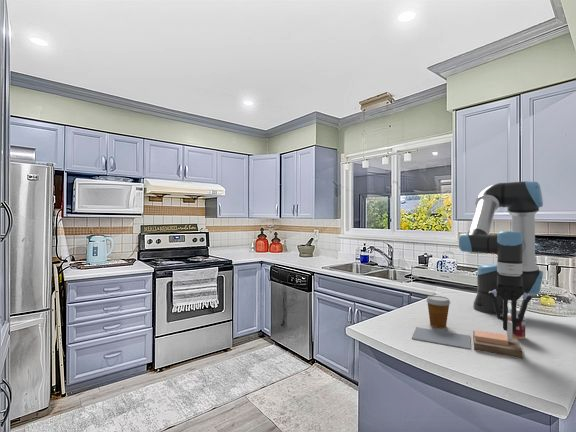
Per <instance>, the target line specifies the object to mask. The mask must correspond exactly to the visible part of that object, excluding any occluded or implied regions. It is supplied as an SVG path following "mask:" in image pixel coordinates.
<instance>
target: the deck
mask: <svg viewBox="0 0 576 432" xmlns="http://www.w3.org/2000/svg"><path fill="white" fill-rule="evenodd" d="M472 340H473V350H474V351H478V352H483V353H489V354H495V355H499V356H505V357H510V358H517V359H523V349H522V346H521V345H520V343H519V341H518V340H519V339H517V338H516V337H512V341H508V345H503V344H497V343H491V342H485V341H479V340H475V334H474V330H473V331H472Z"/></svg>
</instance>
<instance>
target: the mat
mask: <svg viewBox="0 0 576 432" xmlns="http://www.w3.org/2000/svg"><path fill="white" fill-rule="evenodd" d="M411 336H412V337H411V340H413V341H414V340H416V341H419V342H420V341H422V342H425V343H426V342H427V343H432V344H439V345H444V346H450V347H454V348H455V347H456V348H461V349H466V350H472V346H471V345H472V344H471V341H472V340H471V335H469V334H462V333H455V332H450V331H444V330H443V331H442V330H437V329H431V328H424V327H418V326H416V327H415V329H414V331H413V334H412V335H411Z"/></svg>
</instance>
